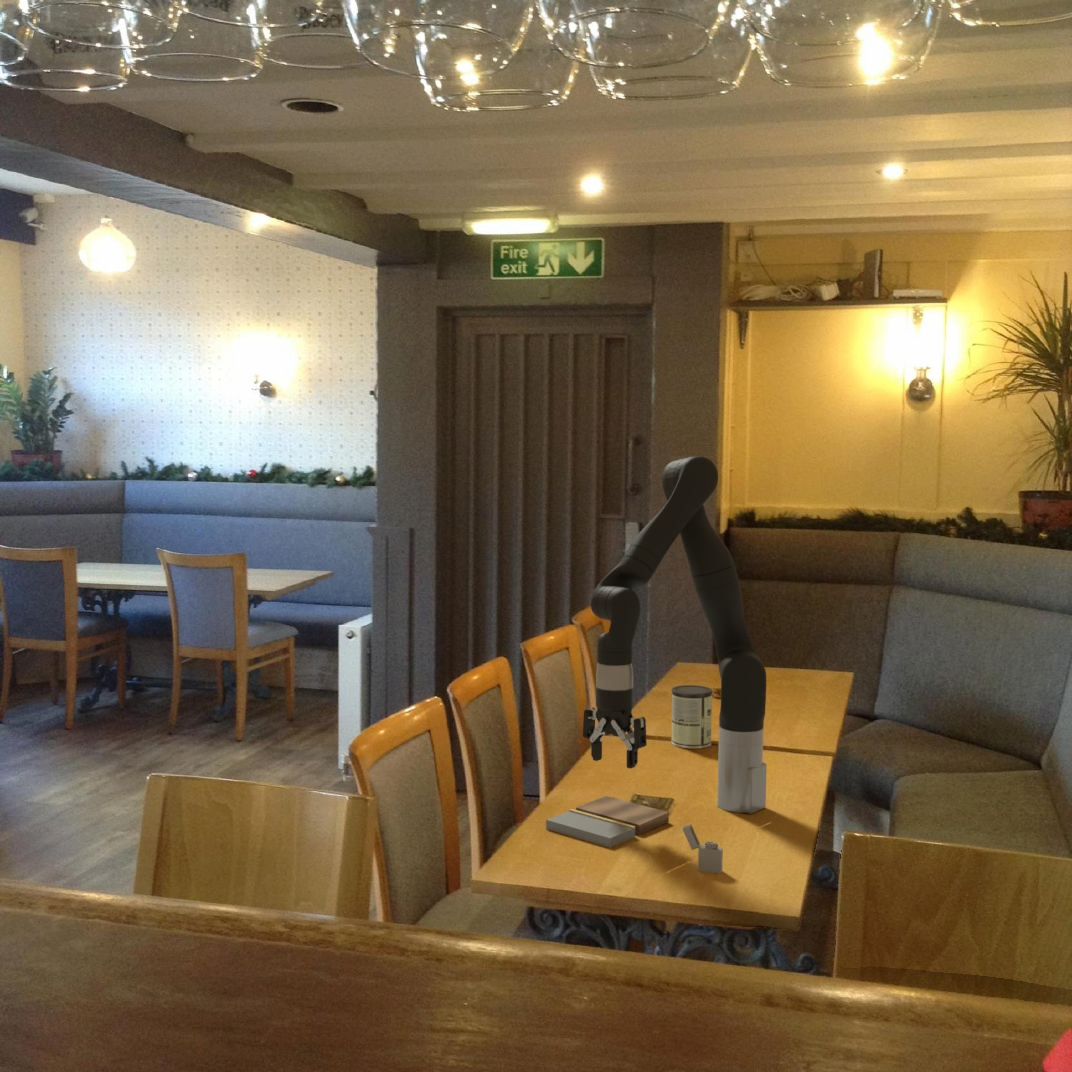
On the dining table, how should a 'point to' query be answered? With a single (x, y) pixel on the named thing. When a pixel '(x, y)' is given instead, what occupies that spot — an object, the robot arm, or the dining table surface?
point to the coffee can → (691, 716)
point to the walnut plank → (626, 813)
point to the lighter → (705, 852)
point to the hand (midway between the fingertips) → (614, 763)
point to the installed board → (591, 828)
